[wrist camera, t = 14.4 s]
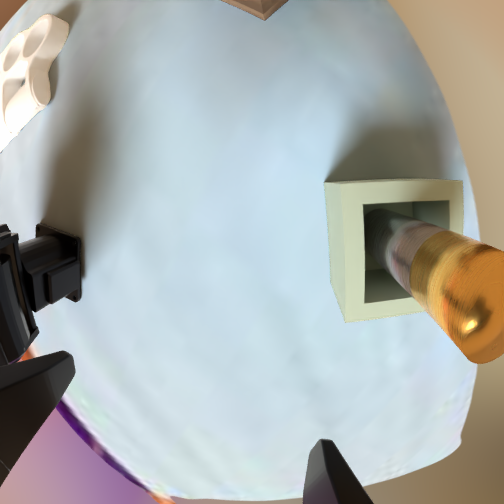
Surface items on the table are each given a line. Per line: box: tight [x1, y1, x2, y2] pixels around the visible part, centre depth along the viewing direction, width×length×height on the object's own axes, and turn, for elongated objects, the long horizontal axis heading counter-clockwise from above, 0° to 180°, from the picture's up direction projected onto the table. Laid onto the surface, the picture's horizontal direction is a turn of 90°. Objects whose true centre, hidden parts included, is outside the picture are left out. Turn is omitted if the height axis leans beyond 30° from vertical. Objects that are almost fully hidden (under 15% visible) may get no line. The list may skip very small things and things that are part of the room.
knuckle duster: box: [0, 14, 69, 153], centre depth 17 cm, size 3×18×15 cm
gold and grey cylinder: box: [363, 208, 504, 364], centre depth 11 cm, size 3×3×12 cm
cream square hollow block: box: [324, 178, 464, 323], centre depth 15 cm, size 7×7×6 cm
